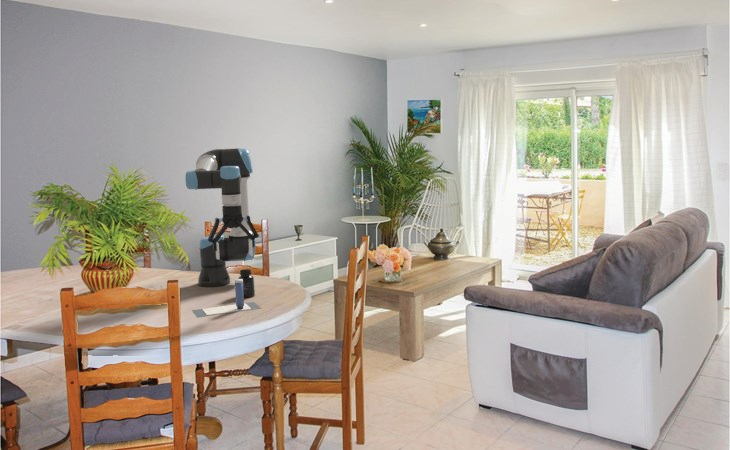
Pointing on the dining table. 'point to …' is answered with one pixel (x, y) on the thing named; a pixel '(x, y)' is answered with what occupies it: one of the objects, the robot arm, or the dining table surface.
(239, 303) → the marker
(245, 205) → the robot arm
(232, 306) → the paper
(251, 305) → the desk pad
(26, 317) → the dining table surface
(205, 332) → the dining table surface
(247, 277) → the supplement bottle
